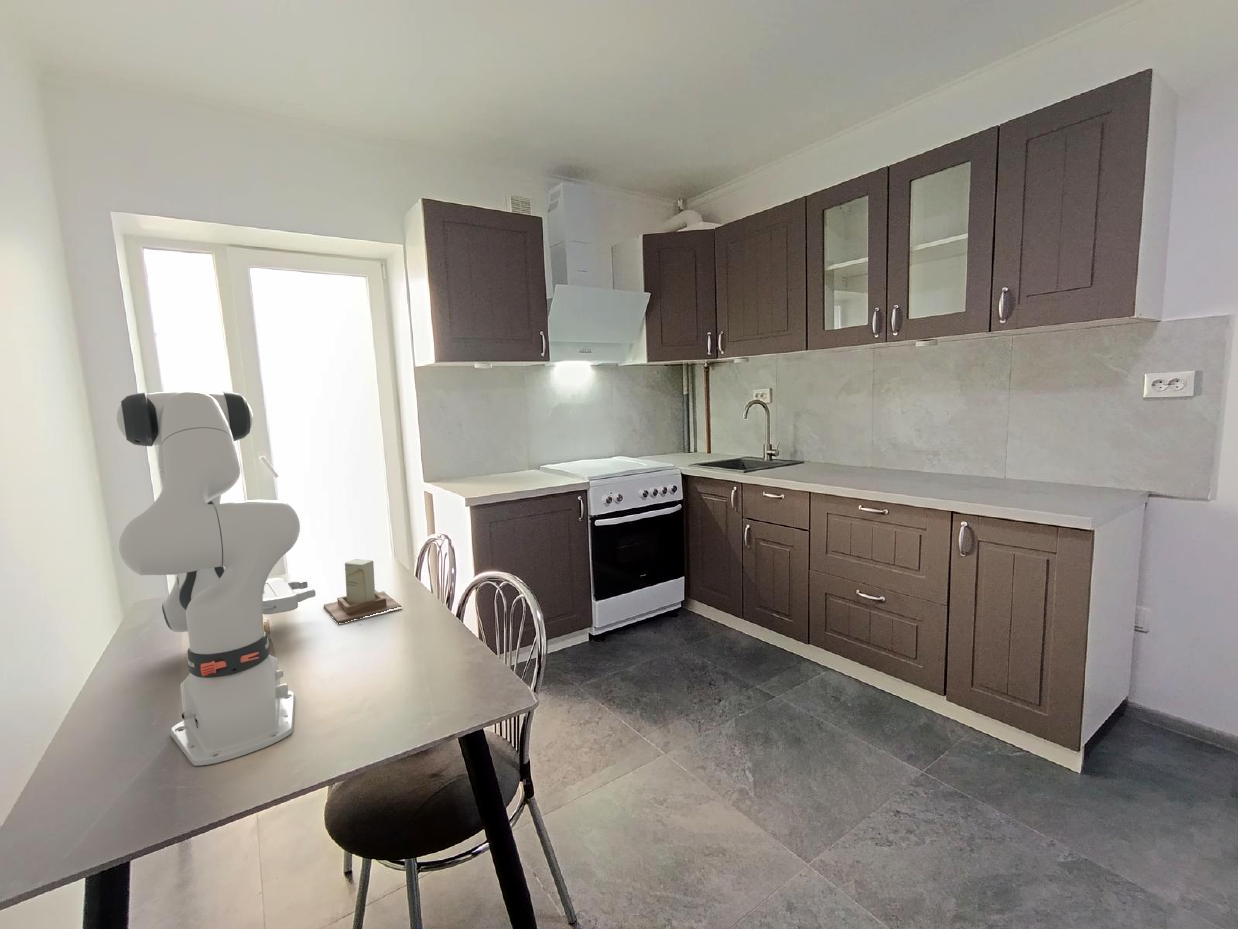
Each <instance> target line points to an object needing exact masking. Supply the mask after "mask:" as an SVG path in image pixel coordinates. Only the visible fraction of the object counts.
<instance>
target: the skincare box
mask: <svg viewBox="0 0 1238 929" xmlns="http://www.w3.org/2000/svg"><path fill="white" fill-rule="evenodd" d="M374 566H375V565H374V560H370V559H358V558H355V559H352V560H350V561H346V562H344V570H345V571H344V572H345V590H346V593H345V594H346V596H347V603H348V604H349V605H355V604H359V603H364V602H368V601H372V600H375V590H376V589H375V585H376V584H375V568H374Z"/></svg>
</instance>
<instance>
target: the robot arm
mask: <svg viewBox="0 0 1238 929" xmlns="http://www.w3.org/2000/svg"><path fill="white" fill-rule="evenodd" d="M253 416H254V415H253V411H252V408H251V406H250V404H249V403H248V400H247V399H246V397H244V396H243V395H242V394H241V393H236V392H231V391H223V392H217V391H216V392H215V391H196V390H189V391H188V390H187V391H186V390H175V391H174V390H173V391H162V392H161V391H159V392H153V393H152V392H151V393H146V392H141V393H133V394H130V395H127V396H125V397H124V398H123V399H122V400H121V401H120V405H119V407H118V409H117V413H116V422H117V426H118V429H119V430H120V432H121V434H122V435H123V436H124V437H125V438H126V441H128V442H129V443H131V444H132V445H135V446H139V447H140V446H143V447H153V446H158V453H157V454H158V470H159V475H160V479H161V480H160V481H161V484H162V490H161V492H160V494H159V495H158V497H157V498H156V500H155V501H154V502H153V503H152V504H151V505H150V506H149V507H148V508H147V509H146V510H144V511H143V512H142V513H140V514H139V515H138V516H136V517H134V518H132V519H131V521H130V522H129V523H127V525H126V526H125V528H124V529H123V531H122V533H121V536H120V539H119V544H118V546H119V554H120V557H121V559H122V561H123V562H124V564H125V566H127V567H128V568H129V570H131V571H132V572H134V573H135V574H137V575H139V576H174V575H176V578H175V581H174V584H173V585H172V588H171V590H170V593H169V594H168V596H167V597H166V598H165V600H164V601H163V602H162V605H161V609H162V614H163V619H164V621H165V624H166V625H167V628H169V629H170V630H171V631H172V632H176V633H188V634H187V635H188V643H189V647H188V649H187V650H186V652H187V657H186V660H187V661H186V662H187V665H188V671H189V674H188V675H187V677H186V678H185V679H184V680H182V682H181V683H180V695H181V707H182V713H181V718H182V719H183V720H182V721H180V722H178V723H177V724H175V725H173V726H172V727H171V728H170V736H171V738H172V739H173V740H174V742H175V743H176V744H177V746H178V747H179V748H180V750H181V751H182V752H183V753H184V755H185V756H186V757H187V759H188V760H189V762H190V764H192V765H193V766H195V767H197V766H205V765H206V766H208V765H212V764H217V763H221V762H224V761H229V760H232V759H236V758H239V757H242V756H244V755H247V754H250V753H253V752H256V751H259V750H261V749H263V748H266V747H268V746H271V745H273V744H275V743H278V742H280V741H281V740H283V739H285V738H286V737H288V736H290V735H291V734H292V733H293V731H294V719H295V717H294V716H295V704H296V703H295V702H296V696H295V692H294V691H292V690H289V689H288V687H289V686H288V683H287V682H285V683H281V678H284V670H283V669H280V668H279V658H277V657H275V656H273V655H271V653H270V648H269V647H270V646H269V645H270V642H269V641H270V640H269V638H268V634H267V631H265V626H264V615H273V614H274V615H275V614H279V613H286V612H292V611H294V610H296V609H298V607H299V603H301V602H303V601H305V600H308V599H310V598H314V597H316V590H315V589H314V588H310V589H309V588H308V587H309V586H308V582H307V580H305V579H304V580H300V581H296V580H295V581H293V580H292V581H286V580H285V579H284V578H283V577H271V578H269V575H270V574H271V572H272V571H273V569H274V567H275V566H276V565H277V563H278V562H279V561H280V560H281V558H283V557H284V555H286V553H288V552H289V551H290V550H292V548H293V547H294V546H295V544H296V543H297V541H298V540H299V537H300V536H299V535H300V532H301V523H300V519H299V517H298V514H297V512H296V511H295V509H294V508H293V507H292V506H291V505H290V504H289V503H287V502H285V501H283V500H276V499H275V500H273V499H272V500H271V499H251V500H242V501H233V502H225V503H221V499H222V498H221V497H222V495H224V494H225V493H226V492H228V491H230V489H231V488H232V487H234V485H235V484H236V483H237V482H238V480H239V478H240V475H241V467H240V463H239V458H238V453H237V451H236V450H237V449H236V445H235V441H240V440H242V439H245V438H246V437H247V436H248V435H249V434H250V432H251V428H252V426H253V421H254V420H253V419H254V417H253ZM307 588H308V589H307ZM299 589H300V590H303V589H306V590H304V591H297V592H295V591H294V590H299Z"/></svg>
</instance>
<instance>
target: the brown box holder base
mask: <svg viewBox="0 0 1238 929" xmlns="http://www.w3.org/2000/svg"><path fill="white" fill-rule="evenodd" d="M397 607H402V605H401V604H400V603H399V602H397V601H396V600H395V599H393V598H392V597H391V596H389V594H387V593H386V592H385V591H377V590H376V589H375V600H372V601H368V602H364V603H359V604H355V605H349V604H348V603H347V595H345V596H339V597H337V600H336V601H334V602H329V603H326V604H325V603H324V604H323V609H324V610H325V609H326V610H325V612H326V613H327V614H328V613H329V614H330V615H329V614H328V615H329V616H330V617H331V616H332V617H333V618H332V617H331V618H332V620H333V621H334V620H335V621H336V622H337V623H338V624H339V623H344V624H346V623H345V622H348V621H351V620H354V619H360V618H363V617H365V616H370V615H373V614H376V613H381V612H384V611H387V610H389V609H394V608H397ZM360 620H361V619H360ZM335 621H334V622H335ZM336 622H335V623H336ZM337 623H336V624H337ZM348 623H349V622H348ZM338 624H337V625H338Z"/></svg>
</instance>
